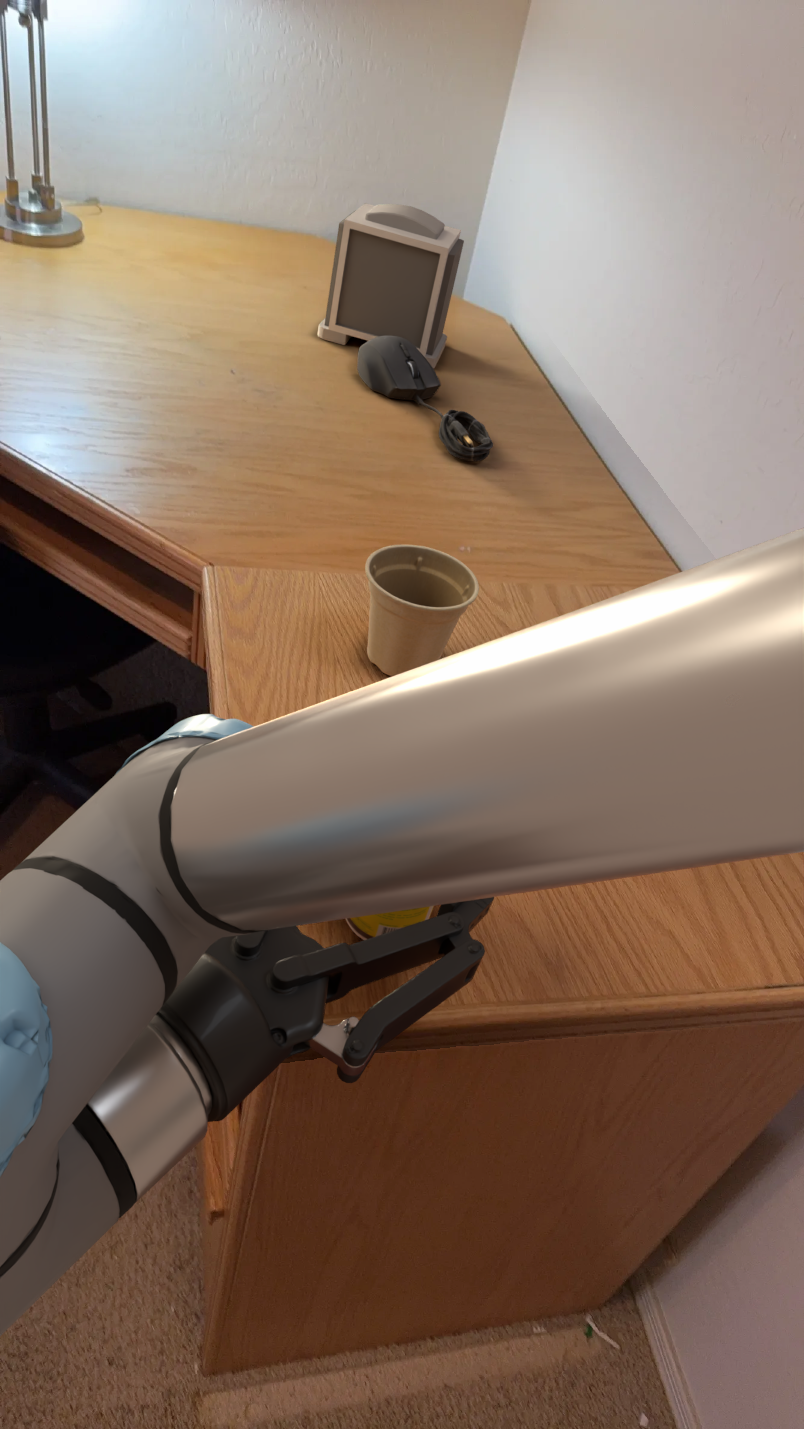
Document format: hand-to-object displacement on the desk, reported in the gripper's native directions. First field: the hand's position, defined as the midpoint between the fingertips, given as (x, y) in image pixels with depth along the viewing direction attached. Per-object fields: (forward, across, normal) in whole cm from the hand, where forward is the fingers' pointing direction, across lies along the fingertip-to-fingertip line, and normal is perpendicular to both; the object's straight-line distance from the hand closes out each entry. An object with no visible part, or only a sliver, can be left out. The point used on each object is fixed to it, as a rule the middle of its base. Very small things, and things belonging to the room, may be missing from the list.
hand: (449, 815), depth 55 cm
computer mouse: (+63, -49, -6) cm, 80 cm away
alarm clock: (+78, -69, -6) cm, 104 cm away
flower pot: (+17, -16, -6) cm, 24 cm away
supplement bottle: (-5, 0, -6) cm, 8 cm away
